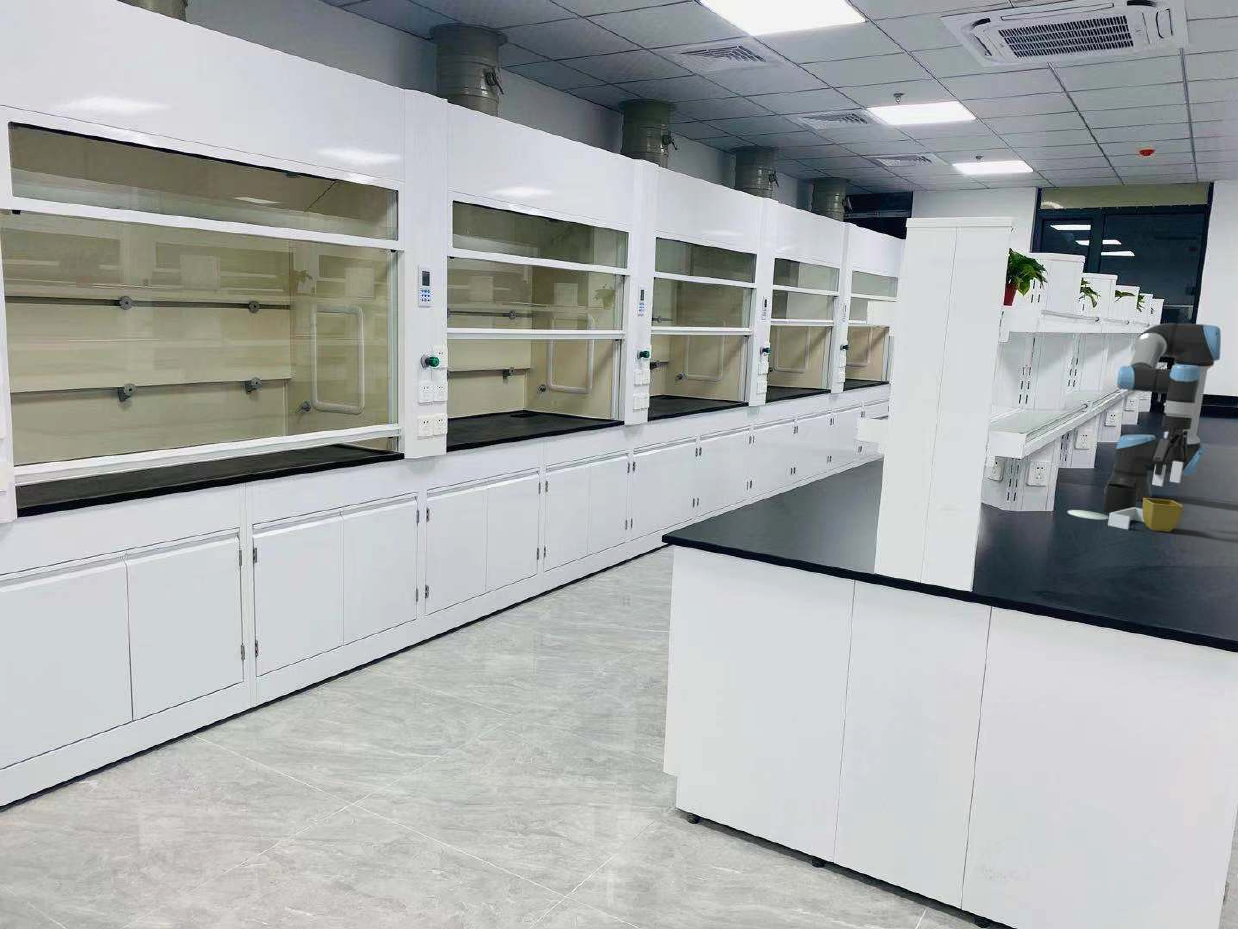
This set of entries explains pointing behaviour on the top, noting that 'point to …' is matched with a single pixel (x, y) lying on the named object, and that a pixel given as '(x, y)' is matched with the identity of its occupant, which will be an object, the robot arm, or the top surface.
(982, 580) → the top surface
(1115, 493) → the mug
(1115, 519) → the bracket
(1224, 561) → the top surface
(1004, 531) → the top surface
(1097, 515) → the pad
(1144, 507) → the flower pot
